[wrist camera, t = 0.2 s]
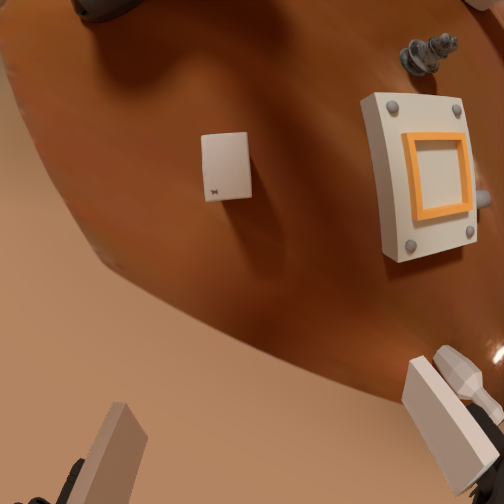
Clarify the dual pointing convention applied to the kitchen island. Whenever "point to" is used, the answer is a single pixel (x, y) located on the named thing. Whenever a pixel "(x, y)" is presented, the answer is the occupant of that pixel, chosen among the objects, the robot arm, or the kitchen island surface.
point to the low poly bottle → (466, 380)
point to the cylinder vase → (483, 4)
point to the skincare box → (226, 166)
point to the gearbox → (422, 173)
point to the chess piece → (427, 54)
